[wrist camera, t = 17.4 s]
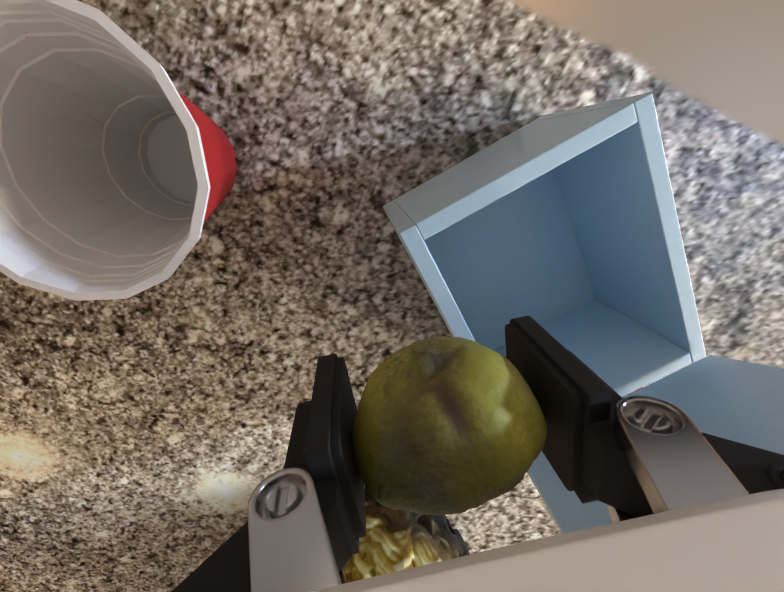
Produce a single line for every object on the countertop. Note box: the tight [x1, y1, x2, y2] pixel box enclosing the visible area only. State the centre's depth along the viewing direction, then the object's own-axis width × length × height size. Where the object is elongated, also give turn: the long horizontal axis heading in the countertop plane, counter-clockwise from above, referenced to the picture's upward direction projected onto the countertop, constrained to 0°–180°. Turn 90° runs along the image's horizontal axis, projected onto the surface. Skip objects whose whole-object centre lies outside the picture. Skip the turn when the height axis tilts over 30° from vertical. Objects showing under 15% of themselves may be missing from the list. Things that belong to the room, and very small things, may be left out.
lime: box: [352, 336, 547, 515], centre depth 10 cm, size 4×5×5 cm
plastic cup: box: [0, 0, 237, 301], centre depth 18 cm, size 11×11×12 cm
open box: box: [383, 93, 706, 397], centre depth 24 cm, size 16×13×10 cm
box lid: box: [527, 355, 784, 534], centre depth 13 cm, size 17×13×5 cm
